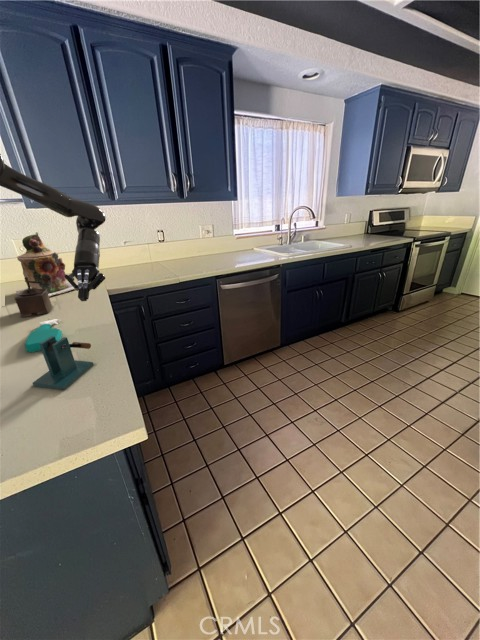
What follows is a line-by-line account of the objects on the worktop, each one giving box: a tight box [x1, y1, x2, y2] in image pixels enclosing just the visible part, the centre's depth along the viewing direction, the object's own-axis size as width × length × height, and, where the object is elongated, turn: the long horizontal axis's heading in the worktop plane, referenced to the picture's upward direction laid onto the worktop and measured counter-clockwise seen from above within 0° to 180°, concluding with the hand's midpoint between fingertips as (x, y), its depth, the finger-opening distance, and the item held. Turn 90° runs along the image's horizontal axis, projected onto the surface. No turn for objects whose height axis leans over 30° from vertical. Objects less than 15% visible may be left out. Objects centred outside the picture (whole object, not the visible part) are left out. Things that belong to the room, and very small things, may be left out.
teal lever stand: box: [32, 336, 94, 391], centre depth 76 cm, size 12×10×12 cm
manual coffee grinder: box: [14, 274, 53, 318], centre depth 121 cm, size 16×11×18 cm
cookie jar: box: [15, 231, 78, 298], centre depth 145 cm, size 25×25×32 cm
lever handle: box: [47, 341, 92, 351], centre depth 79 cm, size 12×6×2 cm, turn 172°
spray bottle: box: [24, 318, 63, 353], centre depth 101 cm, size 3×11×24 cm
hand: (83, 300), depth 88 cm, fingers closed
